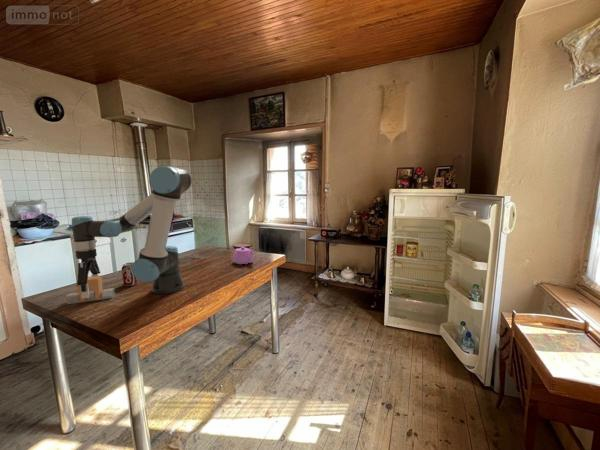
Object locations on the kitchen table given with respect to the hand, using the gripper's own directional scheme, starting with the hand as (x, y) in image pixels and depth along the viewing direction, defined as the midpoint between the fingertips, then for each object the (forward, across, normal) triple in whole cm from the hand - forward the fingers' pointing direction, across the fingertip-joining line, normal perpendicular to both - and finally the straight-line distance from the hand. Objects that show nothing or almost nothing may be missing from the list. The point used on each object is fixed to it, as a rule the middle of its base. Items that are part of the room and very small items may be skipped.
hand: (91, 292), depth 123 cm
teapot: (+4, -32, +79) cm, 85 cm away
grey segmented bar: (+4, 0, 0) cm, 4 cm away
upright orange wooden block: (+3, 0, 0) cm, 3 cm away
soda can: (+4, -15, +13) cm, 20 cm away
